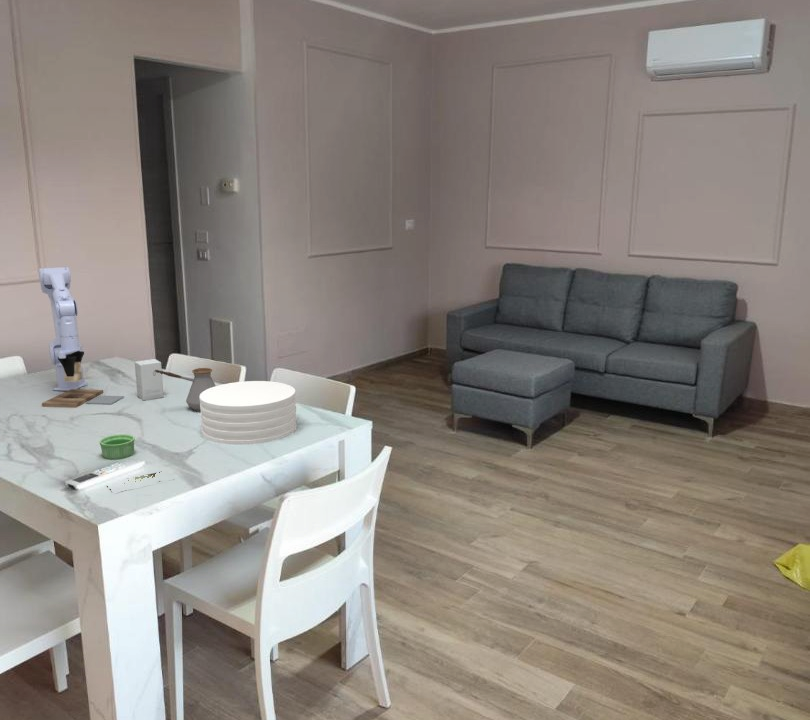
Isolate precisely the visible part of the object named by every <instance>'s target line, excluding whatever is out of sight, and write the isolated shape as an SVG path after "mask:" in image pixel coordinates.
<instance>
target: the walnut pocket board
mask: <svg viewBox="0 0 810 720" xmlns="http://www.w3.org/2000/svg"><path fill="white" fill-rule="evenodd" d="M103 394H104V389H91V388H90V389H86V388H84V389H83V388H78V389H70V390H68V391H63V392H62V393H59V394H58V395H56V396H53V397H52V398H49V399H47V400H46V401H43V402H41V407H42V406H43V407H46V408H48V407H49V408H78V407H80V406H82V405H84V404H86V402H88V401H90V400H92V399H94V398H96V397H98V396H102V395H103ZM43 407H42V408H43Z"/></svg>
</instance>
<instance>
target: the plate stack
mask: <svg viewBox="0 0 810 720" xmlns="http://www.w3.org/2000/svg"><path fill="white" fill-rule="evenodd" d="M199 398H200V402H201V403H200V410H201V411H200V418H201V419H200V423H201V435H202V436H203V438H205V439H206V440H209V441H212V442H214V443H219V444H226V445H253V444H262V443H263V444H264V443H269V442H273V441H276V440H280V439H282V438H285V437H287V436H289V435H291V434H293V433H294V432H295V431H296V429H297V414H296V412H297V406H296V403H297V400H296V389H295V388H294V387H293V386H292V385H289V384H287V383H283V382H277V381H267V380H249V381H248V380H246V381H236V382H229V383H223V384H220V385H216V386H215V387H212V388H209V389H207V390H205V391H203V392H202V393H201V394H200V396H199Z"/></svg>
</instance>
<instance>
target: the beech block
mask: <svg viewBox="0 0 810 720" xmlns="http://www.w3.org/2000/svg"><path fill="white" fill-rule="evenodd" d="M81 366H82V361H81V362H75V365H74V376H71V377H67V375H66V373H65V370H64V376H65V382H77V381H79V380H81V379H82V372H81Z"/></svg>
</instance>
